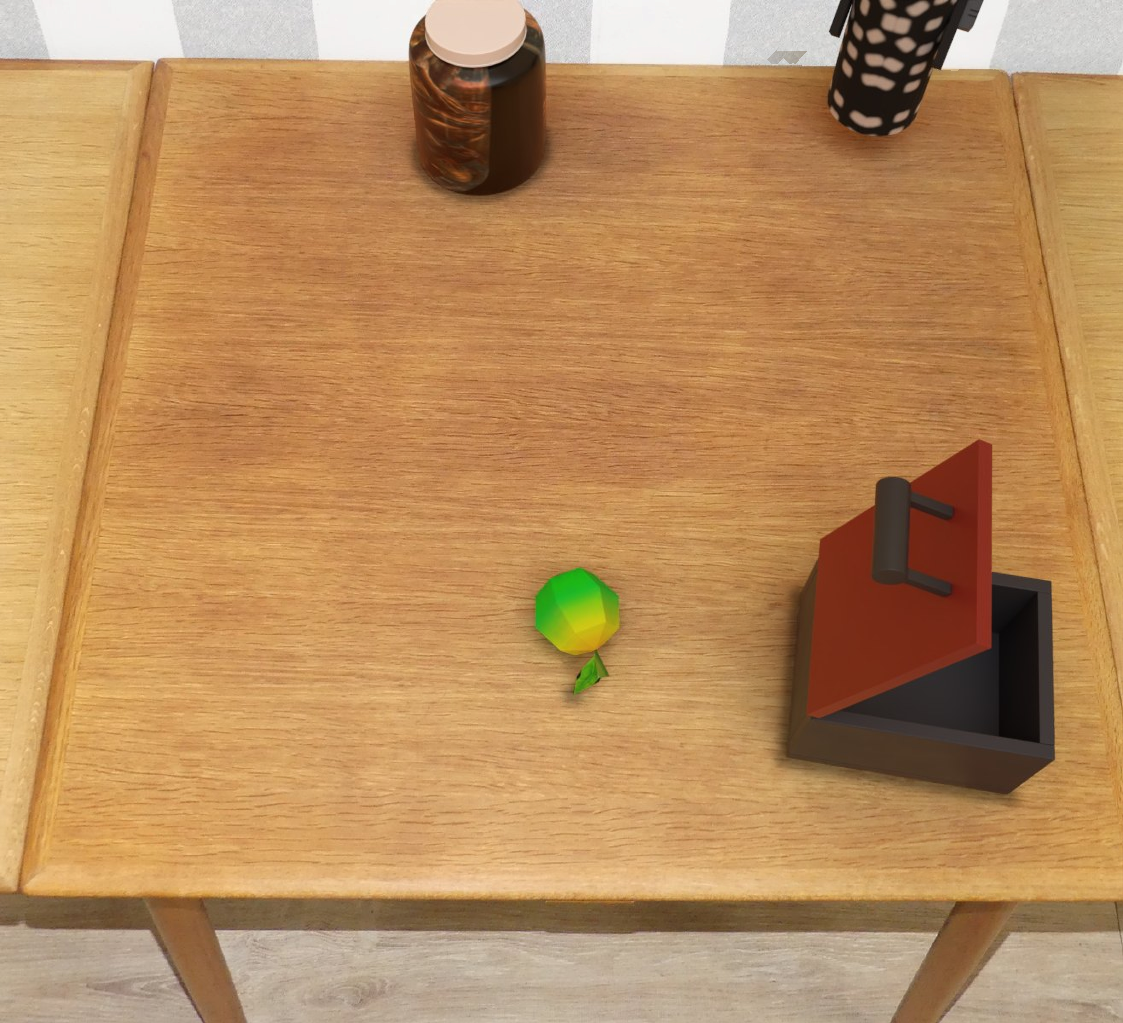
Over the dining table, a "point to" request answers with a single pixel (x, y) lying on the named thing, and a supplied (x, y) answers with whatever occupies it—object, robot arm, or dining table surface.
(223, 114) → the dining table surface
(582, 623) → the apple
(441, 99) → the jar
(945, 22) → the spotted tube
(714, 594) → the dining table surface
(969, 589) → the lid
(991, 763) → the dark storage box
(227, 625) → the dining table surface
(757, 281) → the dining table surface
